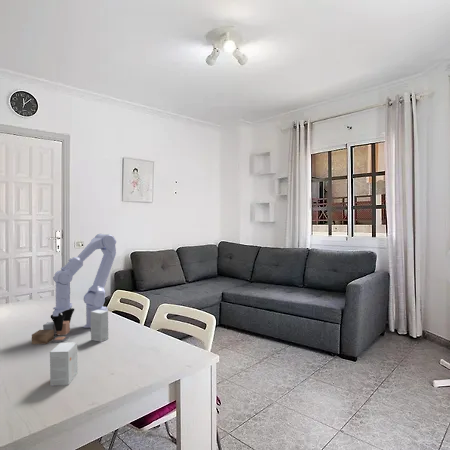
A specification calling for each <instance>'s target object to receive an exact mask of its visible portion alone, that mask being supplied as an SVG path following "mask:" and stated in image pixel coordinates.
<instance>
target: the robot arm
mask: <svg viewBox="0 0 450 450" xmlns="http://www.w3.org/2000/svg"><path fill="white" fill-rule="evenodd" d="M116 244H117V240H116V238H115V237H114V236H113V234H110V233H108V234H104V233H98V234H96V235H95V236H94V237H92V239H91V240H90V241H89V243H88V244H87V245H86V246H85V247H84V249H83V250H82V251H81V252H80V253H79V254H78V255H77V256H74V257H72V258H69V259H68V262H67V263H66V264H64V265H63V266H62V267H61V268H60V270H57V271H56V272H55V273H54V276H53V277H52V278H53V281H54V282H55V306H54V307H52V309H53V310H54V311H52V314H51V315H50V319H51V320H52V322H54V325H55V328H56V331H62V327H63V321H70V322H71V320H72V316H73V313H74V312H75V308H74V307H73V303H71V287H70V286H71V285H70V284H71V283H70V282H72V280H73V278H74V276H75V275H76V274H77V272H78V271H79V270H80V269H81V268H82V267H83V266H84V261H85V260H87V259H88V257H90V256H91V255H92V254H93V253H94V252H95V251H96V250H101V252H102V254H103V255H102V258H101V260H100V263H99V266H98V269H97V271H96V275H95V277H94V281H93V283H92V285H91V286H90V287H89V288H88V290H87V292H85V294H84V296H83V302H84V303H85V312H86V313H85V314H86V315H85V317H86V319H85V322H86V323H85V325H83V326H82V328H84V329H87V328H88V329H89V328H90V329H91V312H92V311H95V310H104V311H108V312H109V309H108V307H107V306H104V304H105V301H106V295H107V294H106V290H105V286H106V284H107V281H108V277H109V275H110V272H111V269H112V267H113V263H114V261H115V258H116V255H117V248H116Z"/></svg>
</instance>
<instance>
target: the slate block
mask: <svg viewBox="0 0 450 450" xmlns="http://www.w3.org/2000/svg"><path fill="white" fill-rule="evenodd" d="M42 327H43V329H42V330H54V336H55V335H57V331H56V328H55V325H54V322H53V321H47V322H46V323H43V325H42Z"/></svg>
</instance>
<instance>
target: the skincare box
mask: <svg viewBox="0 0 450 450" xmlns="http://www.w3.org/2000/svg"><path fill="white" fill-rule="evenodd" d="M90 340H91V341H95V342H100V343H102V342H104V341H107V340H109V310H108V311H104V310H95V311H92V312H91V328H90Z"/></svg>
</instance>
